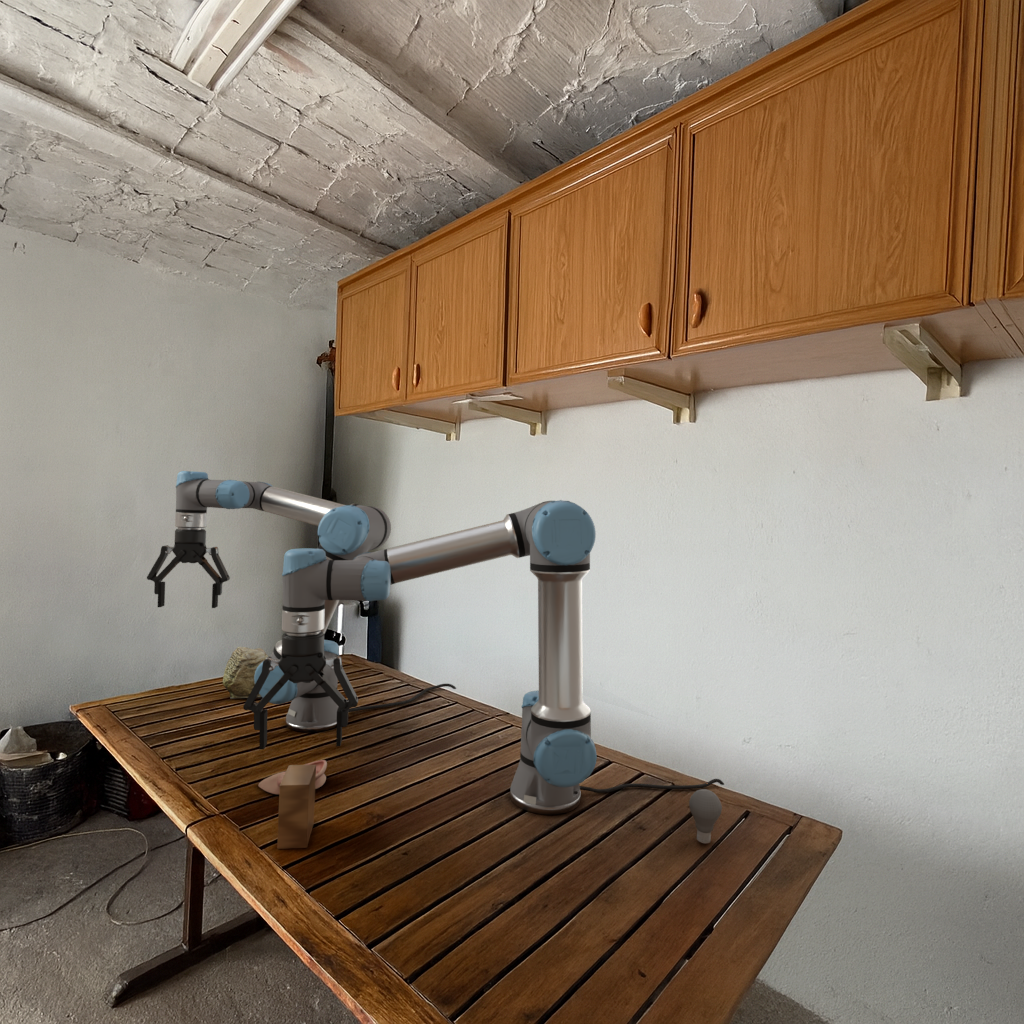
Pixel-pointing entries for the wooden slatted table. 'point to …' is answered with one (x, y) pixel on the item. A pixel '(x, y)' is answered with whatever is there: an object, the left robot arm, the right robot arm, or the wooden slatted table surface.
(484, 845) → the wooden slatted table surface
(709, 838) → the light bulb
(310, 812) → the brick
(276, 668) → the left robot arm
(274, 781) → the anatomical model
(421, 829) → the wooden slatted table surface
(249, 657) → the fossil
